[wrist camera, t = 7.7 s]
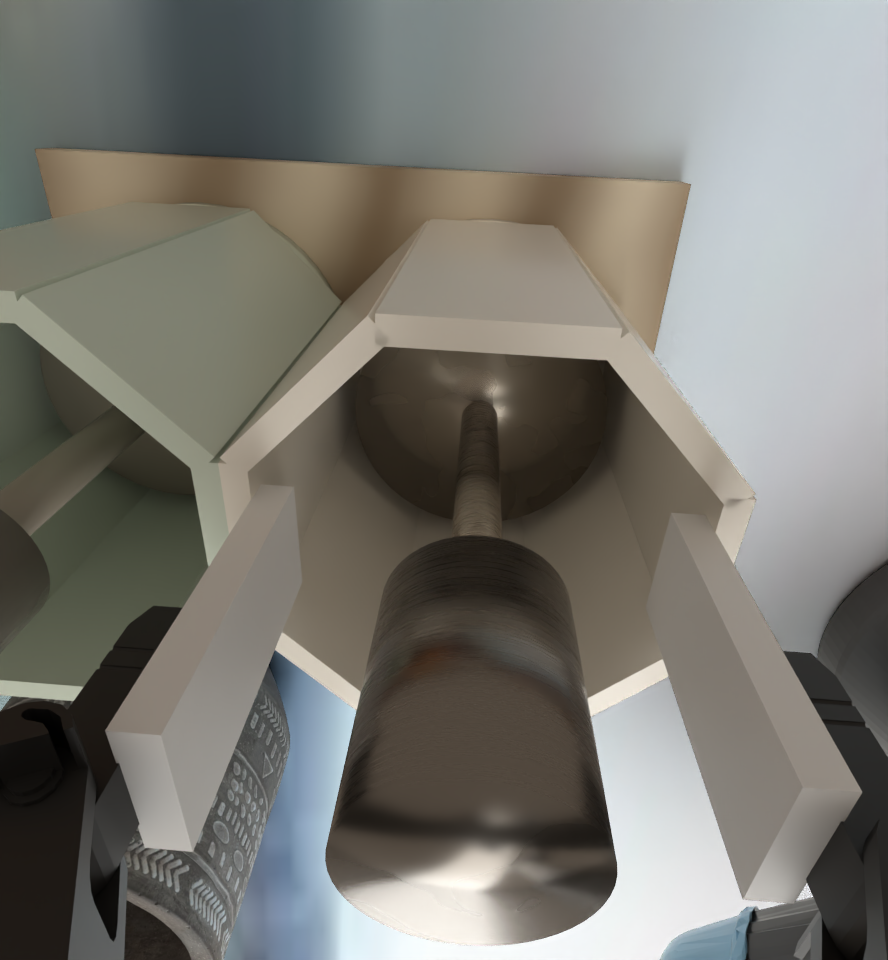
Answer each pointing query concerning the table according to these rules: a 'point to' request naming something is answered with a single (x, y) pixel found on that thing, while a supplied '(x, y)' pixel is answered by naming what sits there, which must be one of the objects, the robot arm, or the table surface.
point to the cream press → (548, 531)
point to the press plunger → (475, 663)
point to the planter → (207, 848)
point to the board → (398, 210)
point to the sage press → (129, 413)
